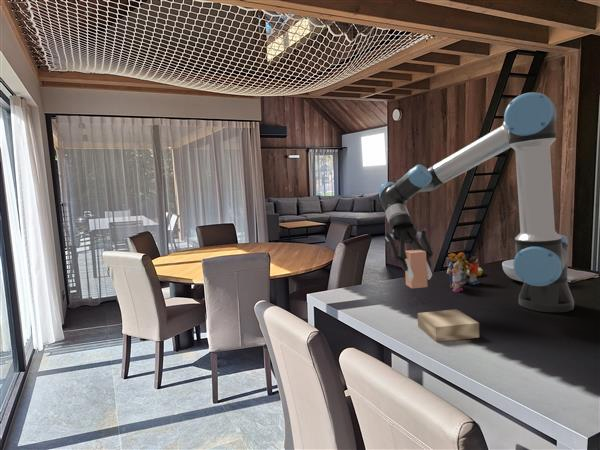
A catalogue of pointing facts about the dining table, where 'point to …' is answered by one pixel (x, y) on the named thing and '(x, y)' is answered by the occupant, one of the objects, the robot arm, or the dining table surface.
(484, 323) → the dining table surface
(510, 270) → the serving bowl
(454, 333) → the plinth
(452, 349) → the dining table surface
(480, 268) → the decorated donut
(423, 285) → the block
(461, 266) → the doll family
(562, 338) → the dining table surface
